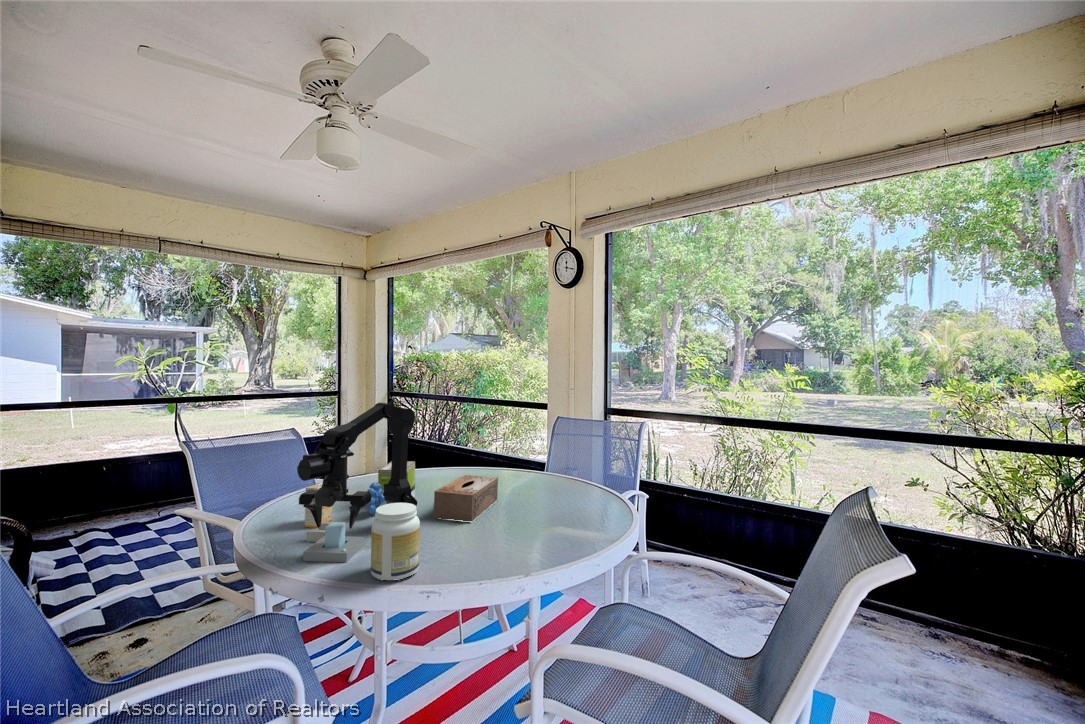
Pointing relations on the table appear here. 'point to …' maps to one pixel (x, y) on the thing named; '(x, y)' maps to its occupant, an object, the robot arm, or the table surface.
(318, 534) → the grey square frame
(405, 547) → the supplement tub
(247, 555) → the table surface
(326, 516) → the supplement box
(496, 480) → the tissue box cover
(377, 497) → the grapes
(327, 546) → the plug
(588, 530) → the table surface
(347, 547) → the socket
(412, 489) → the tea box
